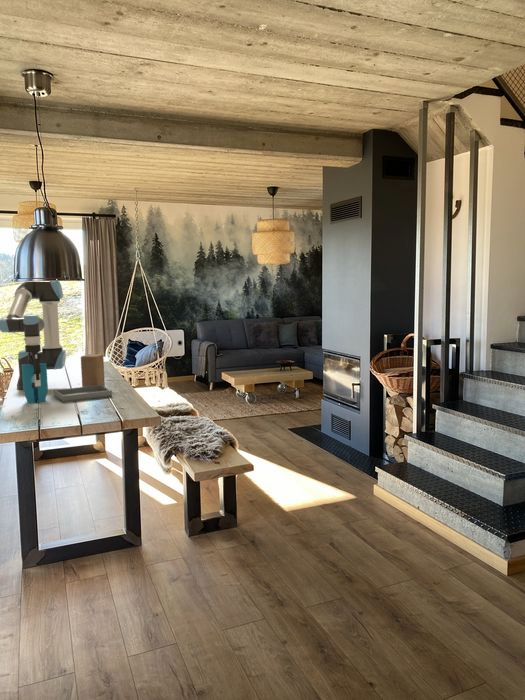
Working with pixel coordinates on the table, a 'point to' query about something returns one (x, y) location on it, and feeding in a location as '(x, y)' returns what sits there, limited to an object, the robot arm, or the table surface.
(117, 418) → the table surface
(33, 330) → the robot arm
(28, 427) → the table surface
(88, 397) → the tray
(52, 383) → the table surface
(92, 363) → the wooden block
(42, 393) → the block
